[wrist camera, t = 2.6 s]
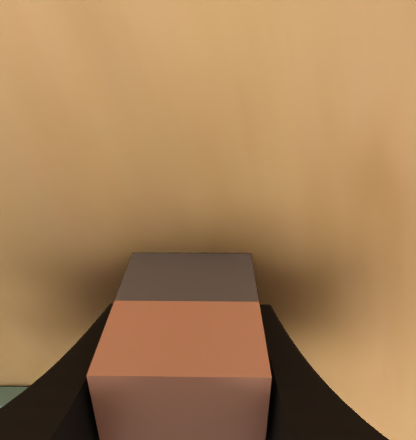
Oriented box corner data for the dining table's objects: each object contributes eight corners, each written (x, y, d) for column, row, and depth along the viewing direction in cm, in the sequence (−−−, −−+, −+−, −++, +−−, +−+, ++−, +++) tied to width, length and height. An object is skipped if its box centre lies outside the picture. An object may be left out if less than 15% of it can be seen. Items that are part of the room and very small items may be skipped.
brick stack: (142, 341, 16) (108, 483, 11) (132, 252, 14) (86, 375, 9) (245, 342, 16) (260, 485, 11) (250, 253, 14) (271, 377, 9)
